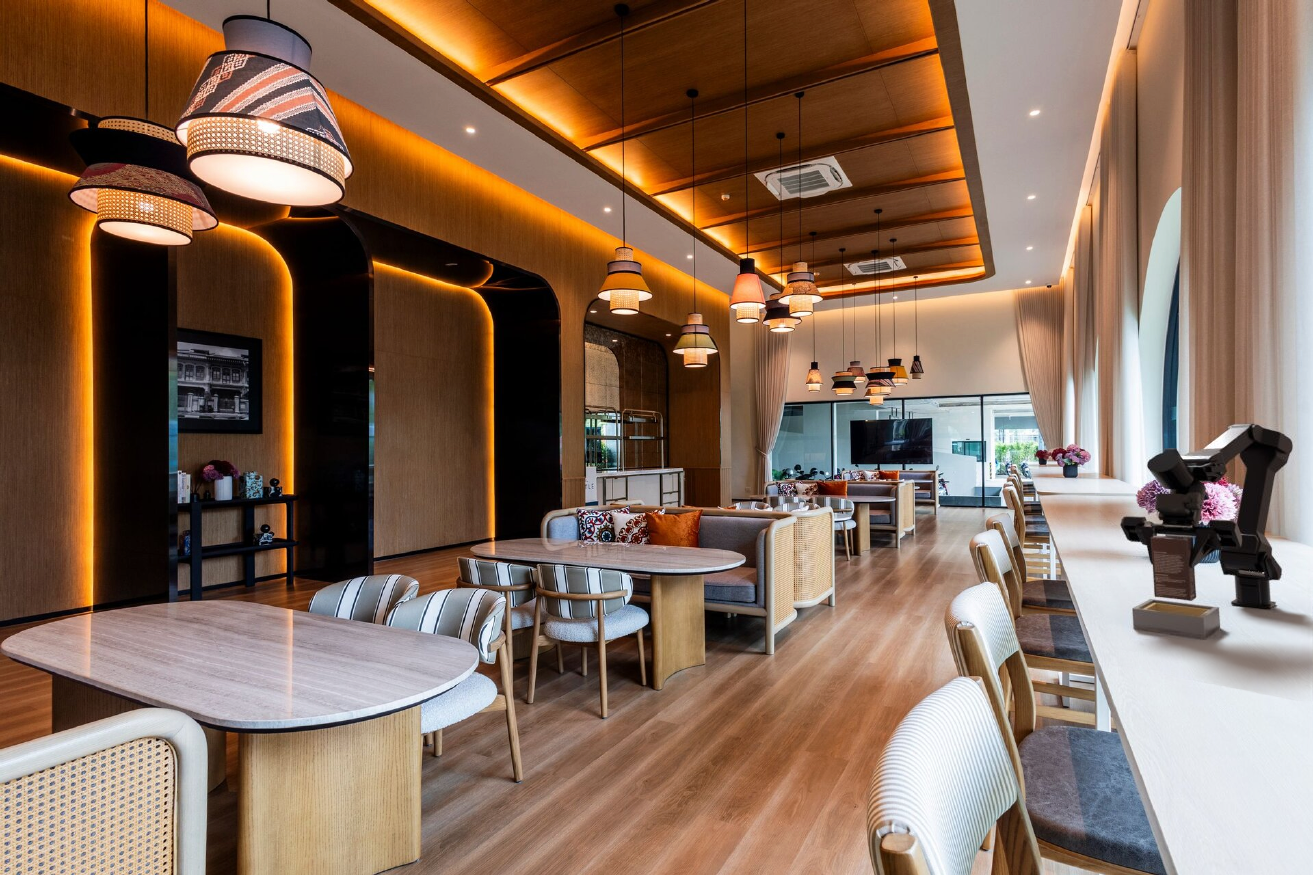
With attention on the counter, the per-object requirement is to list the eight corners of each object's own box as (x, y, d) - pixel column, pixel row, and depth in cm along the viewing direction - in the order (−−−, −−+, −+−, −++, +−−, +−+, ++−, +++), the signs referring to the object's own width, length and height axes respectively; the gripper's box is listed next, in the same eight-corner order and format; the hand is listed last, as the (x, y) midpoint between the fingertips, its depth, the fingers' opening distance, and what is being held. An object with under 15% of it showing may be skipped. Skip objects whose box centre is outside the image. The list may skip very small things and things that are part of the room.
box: (1197, 597, 130) (1193, 536, 130) (1190, 601, 127) (1187, 539, 128) (1159, 593, 135) (1156, 534, 135) (1152, 597, 132) (1149, 536, 132)
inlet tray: (1151, 618, 139) (1150, 598, 139) (1220, 627, 130) (1219, 607, 130) (1133, 628, 132) (1132, 608, 132) (1204, 639, 123) (1203, 617, 123)
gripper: (1120, 478, 141) (1103, 536, 134) (1233, 478, 127) (1221, 543, 120) (1136, 511, 146) (1120, 569, 139) (1247, 515, 131) (1236, 580, 124)
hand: (1171, 564), depth 130 cm, fingers closed on box, 6 cm apart
